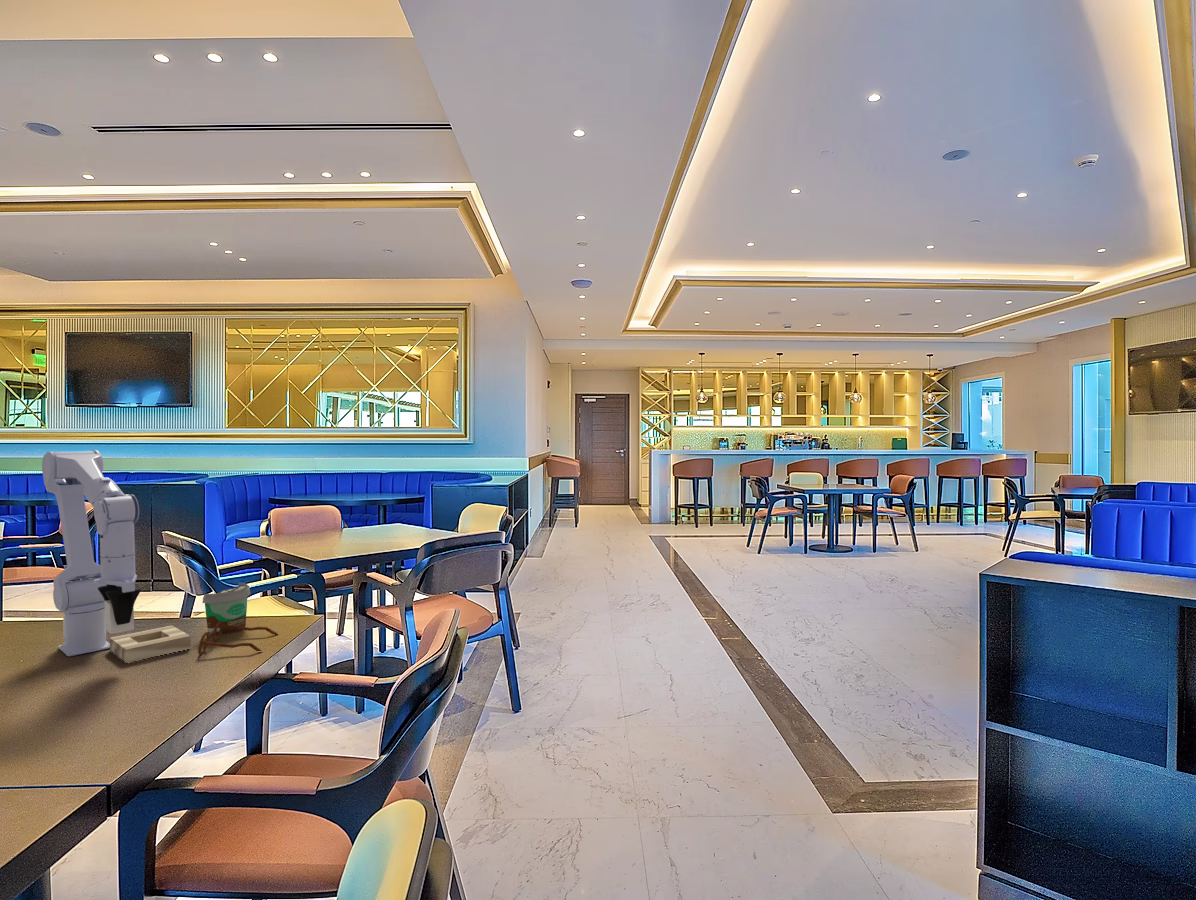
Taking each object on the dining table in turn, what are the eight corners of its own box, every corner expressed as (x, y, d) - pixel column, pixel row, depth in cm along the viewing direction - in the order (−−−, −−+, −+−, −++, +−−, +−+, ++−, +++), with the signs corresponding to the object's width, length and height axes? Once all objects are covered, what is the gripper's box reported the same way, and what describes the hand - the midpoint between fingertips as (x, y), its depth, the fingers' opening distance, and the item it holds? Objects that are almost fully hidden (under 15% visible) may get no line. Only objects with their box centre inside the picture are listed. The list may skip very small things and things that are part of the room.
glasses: (218, 640, 157) (218, 618, 157) (278, 636, 160) (278, 615, 159) (196, 659, 144) (196, 636, 144) (262, 654, 147) (262, 632, 146)
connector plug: (105, 630, 138) (104, 600, 138) (128, 625, 141) (127, 597, 141) (110, 634, 135) (109, 604, 135) (134, 629, 138) (133, 600, 138)
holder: (110, 651, 148) (109, 637, 148) (172, 638, 157) (171, 625, 157) (126, 663, 140) (125, 649, 140) (190, 649, 149) (190, 635, 149)
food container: (226, 638, 157) (225, 595, 156) (203, 636, 158) (202, 594, 158) (262, 623, 169) (261, 583, 169) (241, 621, 170) (240, 582, 170)
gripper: (85, 553, 139) (87, 619, 140) (103, 563, 130) (105, 633, 130) (125, 548, 145) (127, 611, 145) (146, 557, 135) (148, 625, 136)
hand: (120, 621), depth 138 cm, fingers closed on connector plug, 4 cm apart
